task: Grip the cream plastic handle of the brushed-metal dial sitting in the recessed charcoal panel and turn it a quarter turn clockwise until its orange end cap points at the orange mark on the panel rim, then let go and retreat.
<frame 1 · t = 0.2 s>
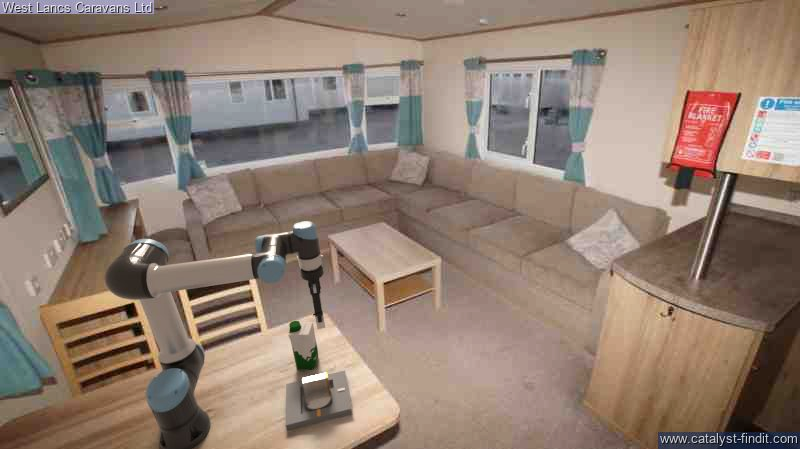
hand: (319, 316, 138), 27 cm above the table, fingers open, 13 cm apart
dial: (316, 388, 134), point 6 cm above the table, hinge at 0.0°
panel: (318, 400, 137), on the table
milk carton: (308, 363, 154), on the table
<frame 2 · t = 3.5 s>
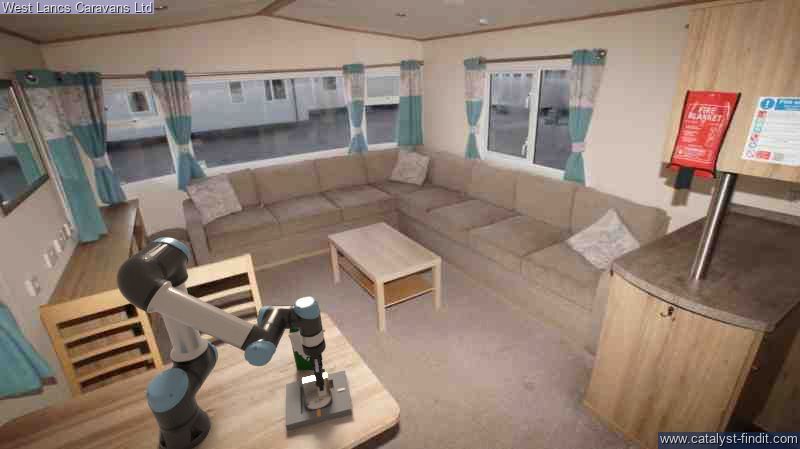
hand: (322, 391, 136), 4 cm above the table, fingers closed on dial, 2 cm apart
dial: (316, 388, 134), point 6 cm above the table, hinge at 0.0°, touching gripper
everything else where it was.
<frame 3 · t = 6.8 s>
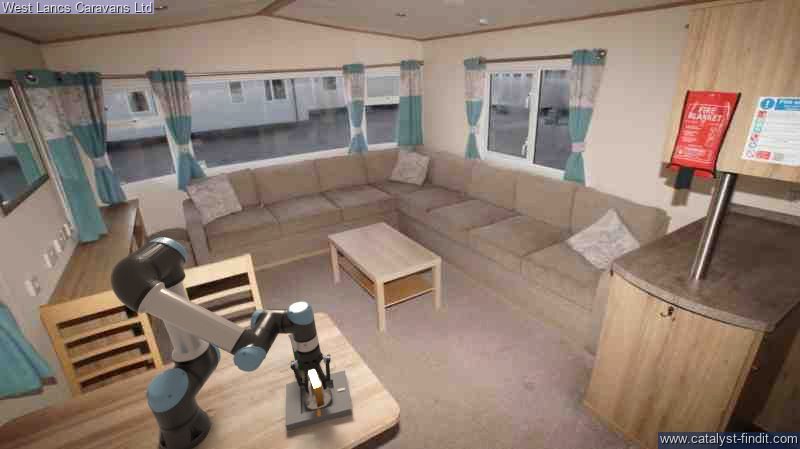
hand: (318, 396, 134), 4 cm above the table, fingers closed on dial, 3 cm apart
dial: (316, 388, 134), point 6 cm above the table, hinge at -78.7°, touching gripper
everything else where it was.
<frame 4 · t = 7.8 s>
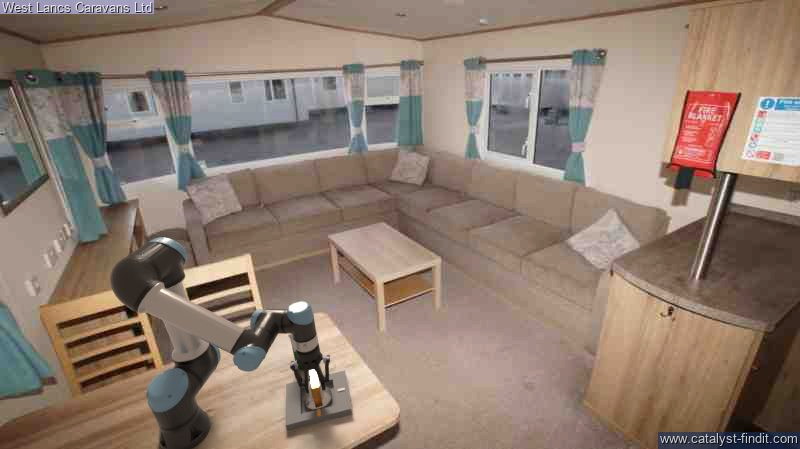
hand: (317, 396, 134), 4 cm above the table, fingers closed on dial, 3 cm apart
dial: (316, 388, 134), point 6 cm above the table, hinge at -86.4°, touching gripper
everything else where it was.
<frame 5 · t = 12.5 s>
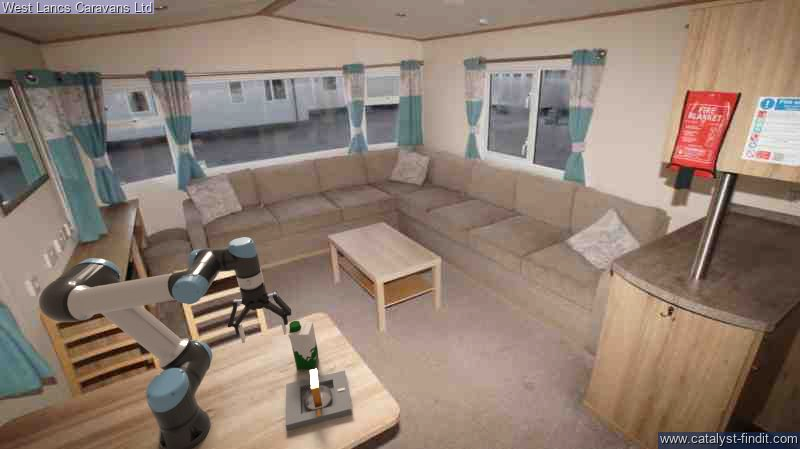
hand: (264, 336, 130), 27 cm above the table, fingers open, 13 cm apart
dial: (316, 388, 134), point 6 cm above the table, hinge at -89.3°
everything else where it was.
at the end: dial at -89° (first picture: +0°); the gripper is holding nothing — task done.
